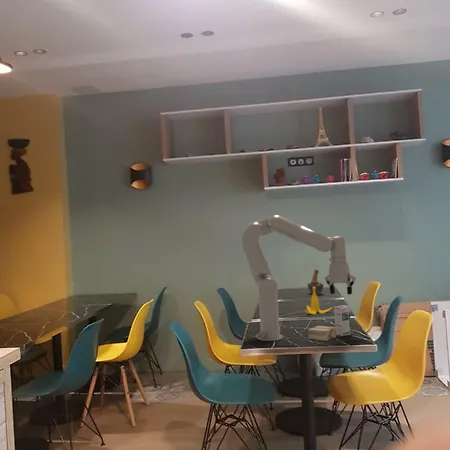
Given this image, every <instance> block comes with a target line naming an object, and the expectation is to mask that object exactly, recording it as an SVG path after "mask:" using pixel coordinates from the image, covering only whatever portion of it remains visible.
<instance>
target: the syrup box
mask: <svg viewBox="0 0 450 450" xmlns="http://www.w3.org/2000/svg"><path fill="white" fill-rule="evenodd" d="M333 311H334V323H335V324H334V325H335V326H334V327H336V336H340V337H344V336H350V335H352V322H351V320H352V319H351V308H350V306H349V305H338V306H335V305H334V306H333Z"/></svg>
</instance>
